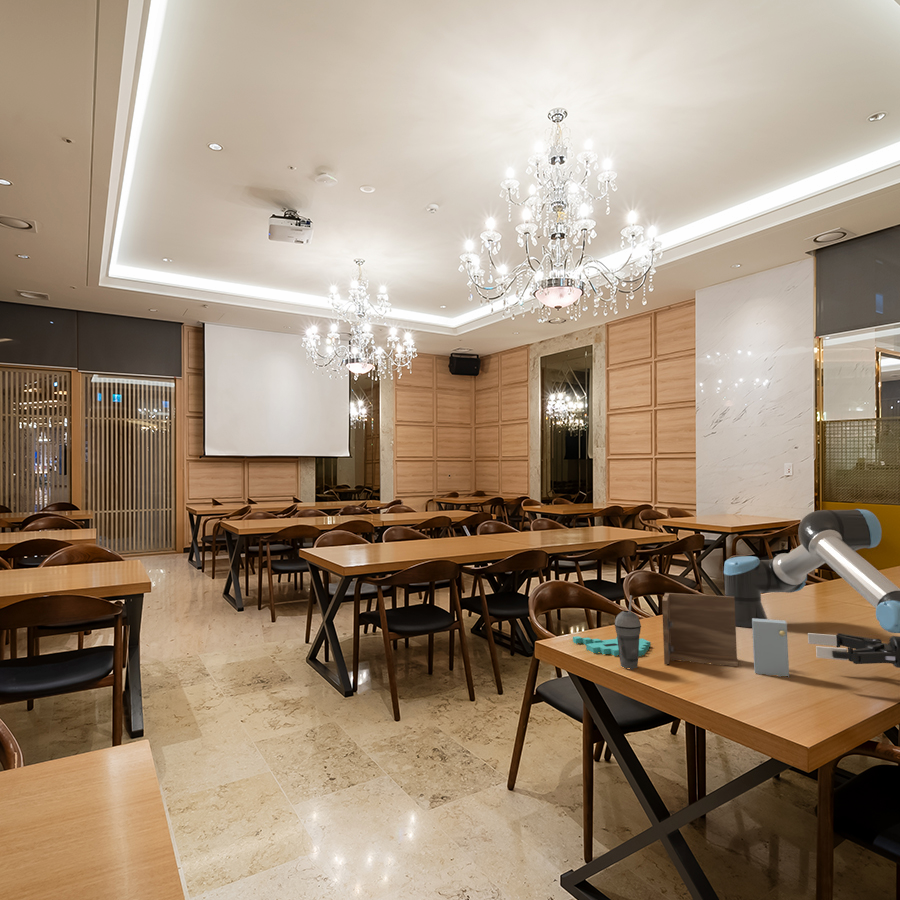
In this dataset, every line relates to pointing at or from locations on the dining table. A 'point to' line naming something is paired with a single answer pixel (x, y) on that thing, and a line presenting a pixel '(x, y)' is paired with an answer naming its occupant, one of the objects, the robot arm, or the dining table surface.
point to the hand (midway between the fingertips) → (812, 644)
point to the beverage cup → (628, 637)
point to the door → (770, 647)
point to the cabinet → (699, 628)
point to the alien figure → (609, 645)
